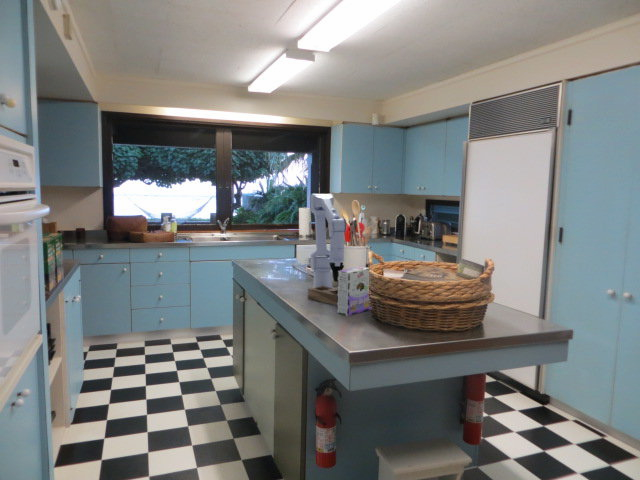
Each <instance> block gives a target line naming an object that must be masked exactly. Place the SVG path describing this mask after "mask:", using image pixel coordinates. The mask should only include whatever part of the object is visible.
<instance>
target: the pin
mask: <svg viewBox="0 0 640 480" xmlns="http://www.w3.org/2000/svg"><path fill="white" fill-rule="evenodd" d="M332 287H334V288H338V282H334V279H333V272H332Z"/></svg>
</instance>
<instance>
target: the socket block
mask: <svg viewBox="0 0 640 480" xmlns="http://www.w3.org/2000/svg"><path fill="white" fill-rule="evenodd" d="M335 288H336V287H334V288H330V287H326V286H319V287H315V288H314V287H310V288H308V289H307V298H308V299H310V300H314V301H318V302H322V303H326V304H330V305H334V306H337V298H338V288H336V289H335Z"/></svg>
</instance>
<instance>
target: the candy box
mask: <svg viewBox="0 0 640 480" xmlns="http://www.w3.org/2000/svg"><path fill="white" fill-rule="evenodd" d="M369 268H370V267H365V266H358V267H351V268H346V269H342V270H340V271H338V287H337V289H338V298H337V305H336V306H337V309H336V311H337V312H336V313H337V314H340V315H343V316H347V317H348V316H349V317H350V316H352V315H355V314H359V313H362V312H366V311H370V310H371V309H370V306H369V295H368V293H369V287H368V286H369Z"/></svg>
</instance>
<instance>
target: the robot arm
mask: <svg viewBox="0 0 640 480" xmlns="http://www.w3.org/2000/svg"><path fill="white" fill-rule="evenodd" d="M334 202H335V198H334V195H333V194H332V193H311V195H310V199H309V206H310V208H309V209H310V212H311V213H312V214H313V215H314V226H315V227H314V228H315V248H316V249H315V250H314V251H312V253H311V254H310V262H309V264H310V269H311V270H312V271H313V288H315V287H319V286H326V287H330V288H335V289H337V287H332V272H333V279H334V282H338V271H340V270H344V266H345V264H344V261H345V258H344V257H345V233H346V231H347V229H348V227H347V226H348V225H347V219H346V218H344V217H341V215H340V214H339V211H338V210H337V209H336V208H334ZM326 220H327V224H328V225H326ZM326 226H328V227H326ZM327 228H328V236H329V249H328V248H327V247H328V246H327Z"/></svg>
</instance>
